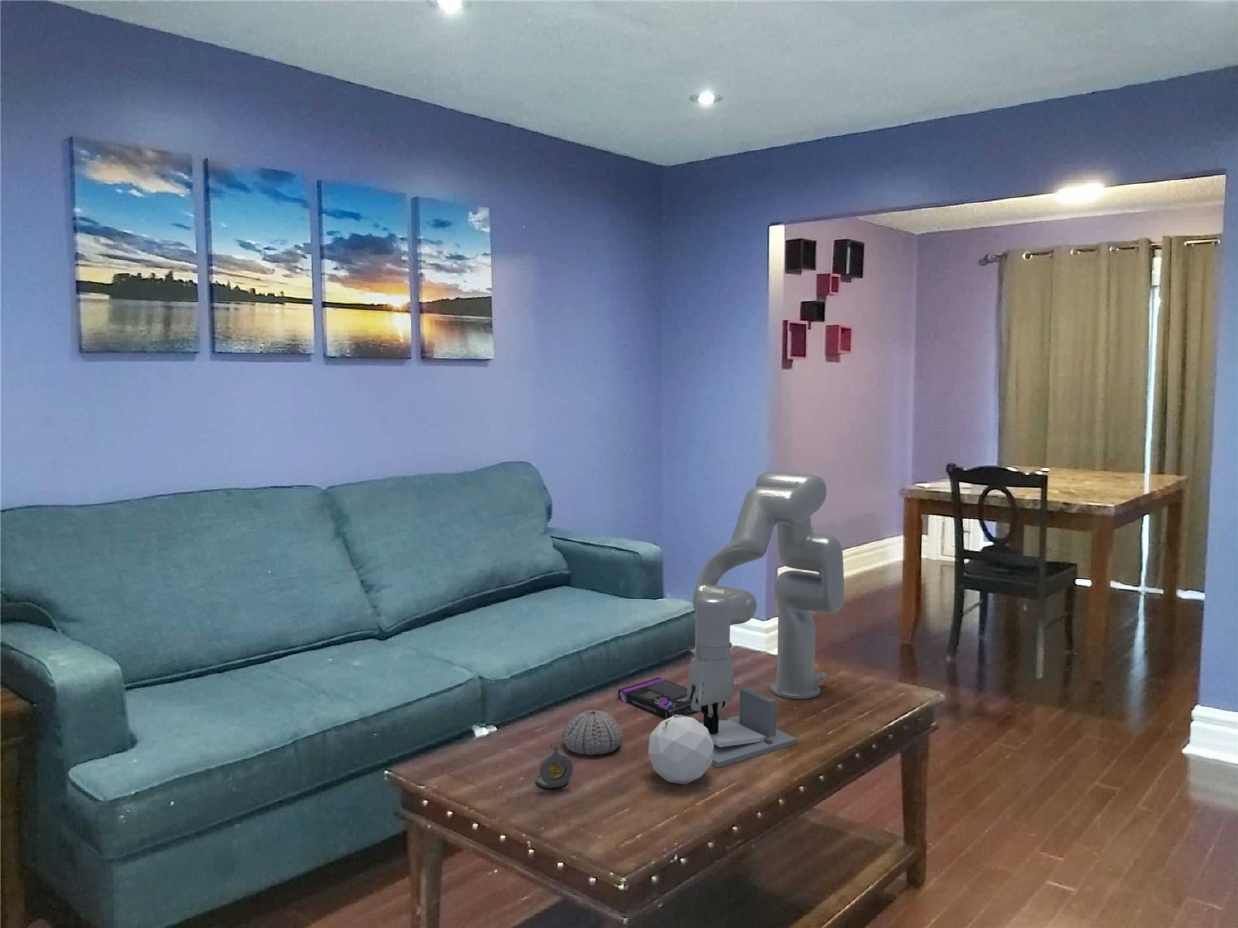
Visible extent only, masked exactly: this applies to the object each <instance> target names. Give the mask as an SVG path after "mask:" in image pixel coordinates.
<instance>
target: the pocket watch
mask: <svg viewBox="0 0 1238 928" xmlns="http://www.w3.org/2000/svg"><path fill="white" fill-rule="evenodd" d="M555 744H557V745H555ZM558 744H560V745H561V746H558ZM553 745H555V746H554V747H552V746H553ZM563 746H564V743H562V741H561V742H560V741H556V742H552V743H551V744H550V746H549V747H550V749H552V750H553V751H554V752H553V753H550V754H549V755H547V756H546V757H545V758H543V760H542V762H541V763H540V766H539V774H538V775H537V776H536V779H535V781H536V784H537V785H539V787H543V788H549V789H554V788H561V787H563V786H565V785H567V784H568V783H569V779H571V777H572V775H573V771H574V768H573V767H574V765H573V761H572V760H571V758H570V757H569V756H568V755H567V754H566V753H564V752H563V753H562V752H558V751H559V750H560V749H562V747H563Z"/></svg>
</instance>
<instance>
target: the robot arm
mask: <svg viewBox="0 0 1238 928" xmlns="http://www.w3.org/2000/svg"><path fill="white" fill-rule="evenodd" d="M826 497H827V485H826V482H825V480H824V479H823V478H822V477H820V476H819V475H815V474H809V473H807V474H806V473H796V472H795V473H794V472H786V471H785V472H784V471H766V472H762V473H760V474H759V475H758V476H757V478H756V482H755V487H752V488H750V489H749V490H748V491H747V493H746V495H745V496H744V500H743V502H742V505H741V509H740V512H739V515H738V518H737V520H736V524H735V526H734V530H733V532H732V536H731V539H730V541H729V542H728V543H727V544H726V545H725V546H723V547H722V548H721V549H719V550H718V551H716V552H715V553H714V555H712V556H711V558H710V559H708V560H707V562H706V563H705V564H704V566H703V567H702V569H701V571H700V573H699V577H698V580H697V582H696V585H695V589H694V592H693V596H692V597H693V598H692V606H693V610H694V612H695V629H694V630H695V631H694V632H695V633H694V634H695V635H694V639H695V641H694V656H693V657H691V661H690V665H689V669H688V670H689V671H688V677H687V678H688V679H687V687H686V688H687V698H688V700H690V701H692V703H691V709H692V710H694V711H700V713H701V714H702V715H703V723H704V726H705V727H706V728H707V729H708V731H709V734H711V735H713V734H717V733H718V726H719V720H720V719H719V718H720V716H721V715H722V711H723V709H724V707H725V706H726V705H727V704H730V703H731V702H732V697H734V692H735V691H734V690H735V680H734V679H735V676H734V674H735V673H734V667H733V660H732V656H731V655H730V649H732V648H733V644H732V642H731V626H734V625H740V624H745V623H748V622H749V621H750V620H751V619H753V617H754V616H755V614H756V612H757V607H758V606H757V599H756V597H755V596H754V595H753V594H752V592H750V591H748V590H744V589H740V588H733V587H729V586H724V585H723V586H722V585H718V583H719V581H720V579H721V578H722V577H723V575H725V574H726V573H727V572H728V571H730V570H732V569H733V568H736V567H738V566H739V567H740V566H741V565H744V564H748V563H749V562H753V561H757V560H759V559H761V558H763V557H764V556H765V555H766V554H767V550H768V547H769V544H770V541H771V538H772V534H773V531H774V529H775V525H776V530H777V531H776V532H777V534H776V535H777V547H778V556H779V561H780V562H781V564H782V565H783V566H784V567H787V568H790V569H793V570H787V571H784V572H782V573H780V574H779V575H778V577H777V578H776V580H775V582H774V594H775V600H776V605H777V607H776V608H777V657H776V659H777V661H776V680H775V681H773V682H772V683H771V684H770V691H771V693H773V694H774V695H776V696H779V697H780V698H781V697H782V698H786V699H791V700H793V699H794V700H806V699H807V700H808V699H809V700H810V699H813V698H815V697H818V696H819V695H820V694H821V688H820V686H819V685H818V684H817V683H818V682H819V681H824V680H827V676H828V675H827V673H826V672H825V671H821V672H815V661H816V660H815V657H816V656H815V655H816V629H817V628H816V624H815V620H814V617H813V616H812V614H811V612H816V613H822V614H836V613H838V612H840V610H841V609H842V608H843V605H844V600H845V575H844V574H845V571H844V555H843V553H844V552H843V548H842V544H841V542H840V541H839V540H838V539H837V538H836V537H835V536H833V535H830V534H824V533H816V532H814V531H813V529H812V521H811V517H812V516H813V515H814V514H815V513H816V512H818V510H820V508H821V507H822V506H823V504H824V503H825V501H826ZM794 569H795V570H794ZM813 572H816V573H813ZM706 706H707V707H706Z"/></svg>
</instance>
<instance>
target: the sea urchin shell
mask: <svg viewBox="0 0 1238 928" xmlns="http://www.w3.org/2000/svg"><path fill="white" fill-rule="evenodd" d="M623 733H624V732H622V727H621V726H620V724H619V723H618V721H617V720H616V719H615V717H613V716H612V715H610V714H609V713H608V712H605V711H603V710H596V709H595V710H593V709H592V710H591V709H590V710H589V709H588V710H586V711H584V712H581V713H578V714H577V715H575V716H574V717H573V718H572V719H570V720H569V721H568V722H567V724H566V725H565V727H564V729H563V732H562V736H561V737H562V739H563V742H564V743H563V745H565V746H566V749H568V751H571V752H573V753H575V754H576V753H577V754H579V755H589V756H595V755H599V756H601V755H604V754H610V753H612V752H613V751H615V750H617V748H619V746H620V745H621V744H622V741H623V737H624V736H623Z"/></svg>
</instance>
